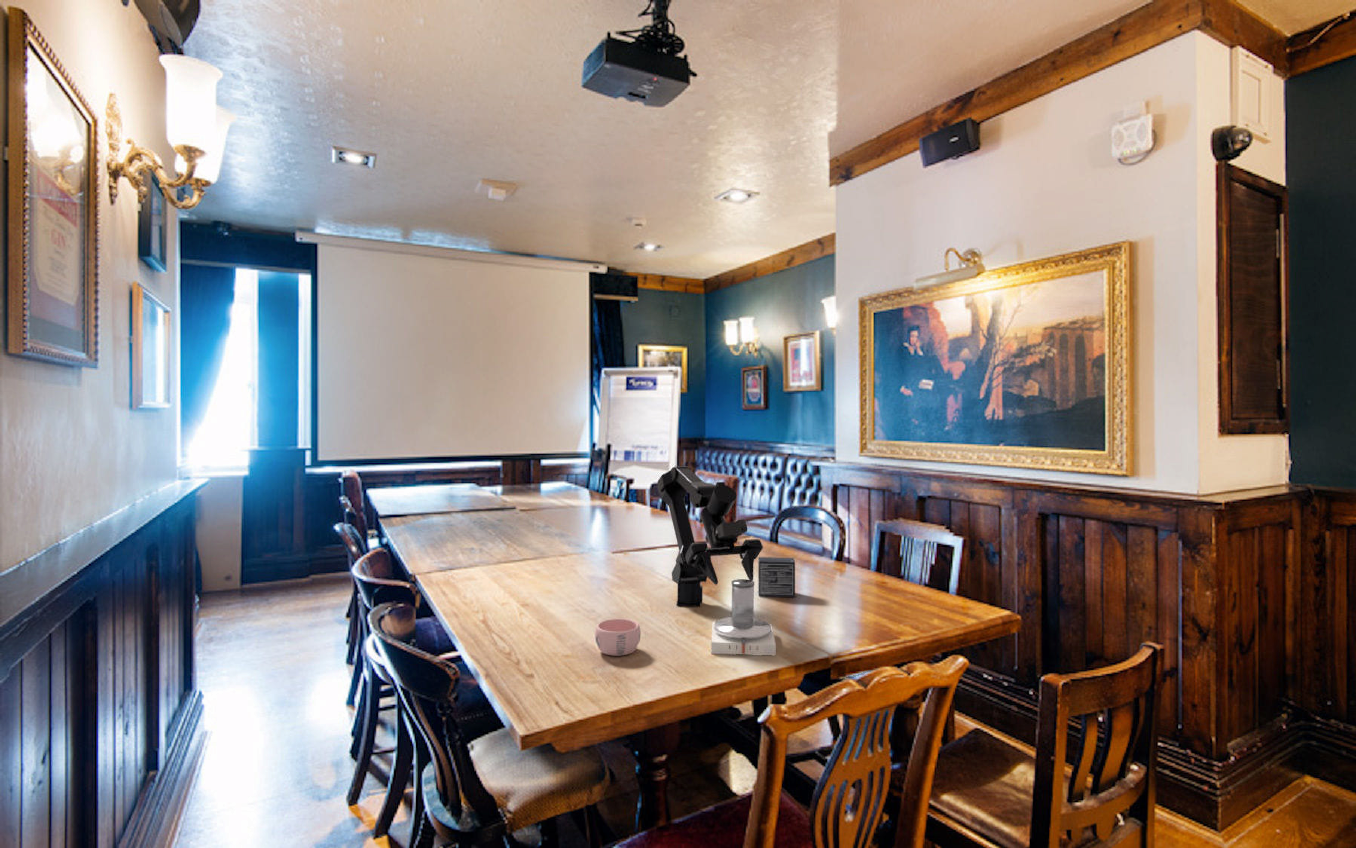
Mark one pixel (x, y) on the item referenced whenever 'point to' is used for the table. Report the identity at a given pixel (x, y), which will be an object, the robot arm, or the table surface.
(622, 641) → the mug
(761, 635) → the scale pan
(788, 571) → the small box
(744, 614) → the steel weight
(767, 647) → the base
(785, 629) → the table surface
